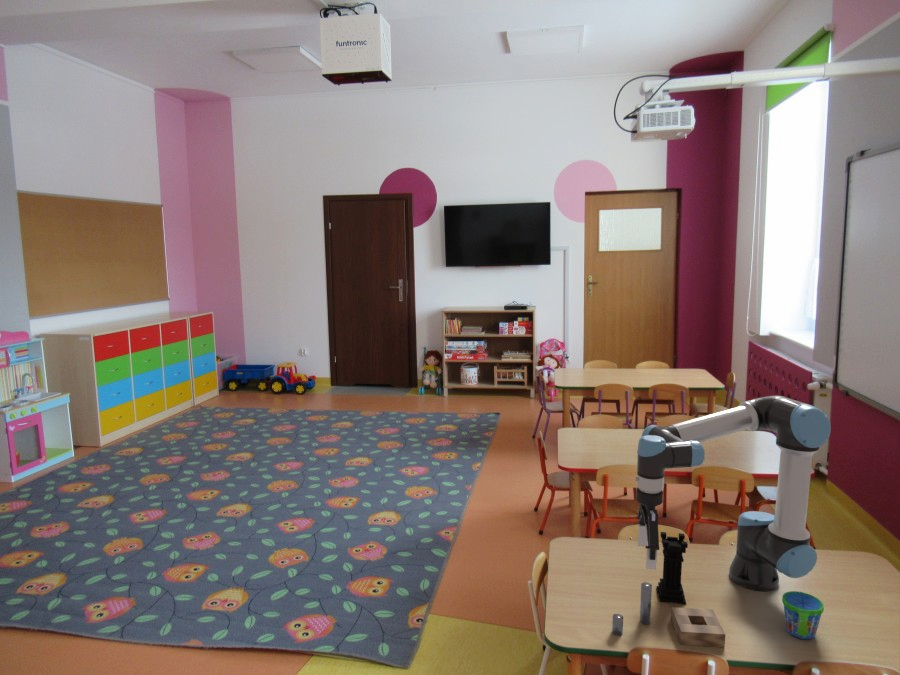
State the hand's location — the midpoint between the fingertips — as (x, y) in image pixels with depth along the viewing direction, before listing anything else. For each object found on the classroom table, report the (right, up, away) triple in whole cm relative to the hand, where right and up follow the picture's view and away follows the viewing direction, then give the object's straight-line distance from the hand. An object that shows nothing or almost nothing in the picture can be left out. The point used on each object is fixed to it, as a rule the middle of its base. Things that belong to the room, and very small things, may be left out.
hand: (646, 556), depth 188 cm
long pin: (0, -21, +3) cm, 21 cm away
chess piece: (+13, -19, +16) cm, 28 cm away
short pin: (-9, -21, -2) cm, 23 cm away
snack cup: (+44, -21, -3) cm, 49 cm away
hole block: (+14, -21, -3) cm, 26 cm away
